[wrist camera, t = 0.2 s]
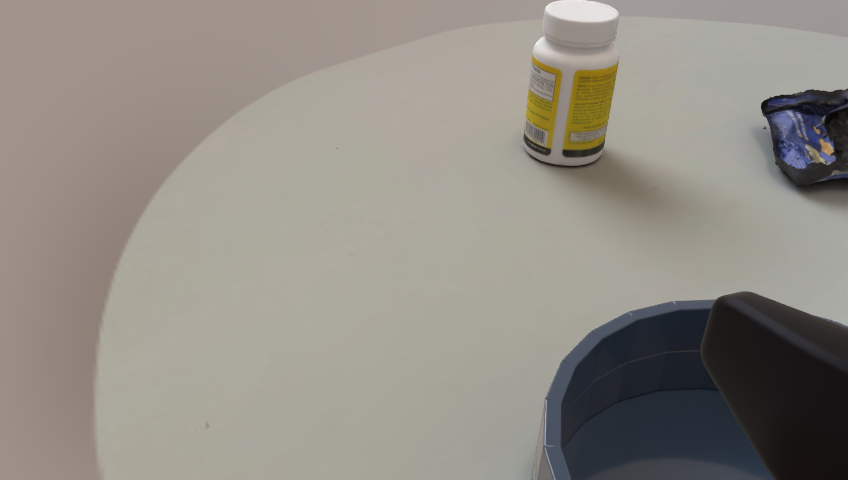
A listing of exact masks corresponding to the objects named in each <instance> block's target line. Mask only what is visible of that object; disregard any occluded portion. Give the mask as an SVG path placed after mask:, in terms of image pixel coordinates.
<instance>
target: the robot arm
mask: <svg viewBox="0 0 848 480" xmlns="http://www.w3.org/2000/svg"><path fill="white" fill-rule="evenodd" d="M701 358H702V361H703V364H704V366H705V368H706V370H707V371H708V373H709V375H710V376H711V378H712V380H713V381H714V383H715V385H716V386H717V388H718V390H719V391H720V393H721V395H722V396H723V398H724V400H725V401H726V403H727V405H728V406H729V408H730V410H731V411H732V413H733V415H734V416H735V418H736V420H737V421H738V423H739V425H740V426H741V428H742V430H743V431H744V433H745V435H746V436H747V438H748V440H749V441H750V443H751V445H752V446H753V448H754V450H755V451H756V453H757V454H758V456H759V458H760V459H761V461H762V462H763V464H764V466H765V467H766V468H767V470H768V471H769V473H770V474H771V476H772V477H773V478H774V480H848V328H845V327H842V326H840V325H837V324H834V323H832V322H829V321H826V320H824V319H821V318H819V317H816V316H813V315H811V314H808V313H805V312H803V311H800V310H797V309H795V308H792V307H789V306H787V305H784V304H781V303H779V302H776V301H773V300H771V299H768V298H765V297H763V296H760V295H758V294H755V293H752V292H738V293H734V294H729V295H725V296H721V297H719V298H717V300H716V301H715V302H714V303H713V305H712V308H711V311H710V315H709V318H708V322H707V325H706V329H705V332H704V336H703V339H702V343H701Z"/></svg>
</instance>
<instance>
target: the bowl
mask: <svg viewBox="0 0 848 480" xmlns="http://www.w3.org/2000/svg"><path fill="white" fill-rule="evenodd" d="M715 301H716V300H692V301H674V302H672V301H671V302H667V303H663V304H659V305H655V306H650V307H646V308H642V309H638V310H634V311H629V312H627V313H625V314H623V315H621V316H619V317H617V318H615V319H614V320H612V321H610V322H608V323H606V324H604V325H602V326H600V327H598V328H596V329H594V330H592V331H591V332H590V333H589V334H588V335H587V336H586V337H585V338H584V339H583V340H582V341H581V342H580V343H579V344H578V345H577V346H576V347H575V348H574V349H573V350H572V351H571V352H570V353H569V354H568V355H567V356H566V357H565V358H564V359H563V360H562V362H561V363H560V366H559V368H558V370H557V373H556V375H555V377H554V379H553V382H552V384H551V386H550V389H549V391H548V393H547V396H546V398H545V402H544V408H543V414H542V420H541V426H540V432H539V437H538V443H537V449H536V455H535V461H534V466H533V472H532V478H531V480H774V478H773V477H772V476H771V474H770V473H769V471H768V470H767V468H766V467H765V466H764V464H763V462H762V461H761V459H760V458H759V456H758V454H757V453H756V451H755V450H754V448H753V446H752V445H751V443H750V441H749V440H748V438H747V436H746V435H745V433H744V431H743V430H742V428H741V426H740V425H739V423H738V421H737V420H736V418H735V416H734V415H733V413H732V411H731V410H730V408H729V406H728V405H727V403H726V401H725V400H724V398H723V396H722V395H721V393H720V391H719V390H718V388H717V386H716V385H715V383H714V381H713V380H712V378H711V376H710V375H709V373H708V371H707V370H706V368H705V366H704V364H703V361H702V358H701V343H702V339H703V336H704V332H705V329H706V325H707V322H708V318H709V315H710V311H711V308H712V305H713V303H714V302H715ZM813 316H814V315H813ZM816 317H818V316H816ZM819 318H821V317H819ZM821 319H824V320H826V321H829V322H832V323H834V324H837V325H840V326H842V327H845V328H848V326H845V325H843V324H841V323H838V322H835V321H834V322H833V321H832V320H829V319H825V318H821Z"/></svg>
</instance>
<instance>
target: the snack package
mask: <svg viewBox="0 0 848 480" xmlns="http://www.w3.org/2000/svg"><path fill="white" fill-rule="evenodd" d="M761 109H762V114H763V116H765V117H766V118H767V120H768V123H769V126H770V129H771V134H772V141H773V146H774V147H773V151H774V155H775V158H776V162H775V164H776V165H778V167H779V168H780V169H781V170H783V171H784V172H786V173H787V175H789V176H790V178H791V179H792V181H793V182H794V183H795V184H796V185H811V184H813V183H814V182H819V181H824V180H825V181H826V180H830V179H837V178H848V89H846V90H836V91H833V92H827V91H820V90H816V91H815V90H812V89H811V90H806V91H805V92H800V93H797V94H793V95H780V96H774V97H773V98H772V97H770V98H769V99H767V100H764V101H763V102H762V104H761ZM763 129H766V127H764V128H763Z"/></svg>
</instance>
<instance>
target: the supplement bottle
mask: <svg viewBox="0 0 848 480" xmlns="http://www.w3.org/2000/svg"><path fill="white" fill-rule="evenodd" d="M618 19H619V13H618V11H617V10H616V9H614V8H612V7H610V6H608V5H605V4H602V3H598V2H593V1H586V0H562V1H556V2H553V3H550V4H549V5H547V6H546V8H545V13H544V19H543V25H542V34H543V35H544V37H542V38H541V39H539V40H538V41H537V43H536V44H535V46H534V50H533V56H532V65H531V74H530V83H529V92H528V102H527V111H526V120H525V130H524V138H523V143H524V147H525V149H526V151H527V152H528V153H529V154H530V155H532V156H533V157H535V158H536V159H538V160H541V161H543V162H546V163H551V164H556V165H565V166H579V165H585V164H588V163H591V162H593V161H595V160H596V159H598V158H599V157H600V155H601V154H602V151H603V147H604V143H605V136H606V130H607V125H608V119H609V114H610V108H611V102H612V96H613V91H614V85H615V79H616V74H617V67H618V63H619V53H618V50H617V48H616V47H615V45H614V44H612V42H613V41H614V40H615V38H616V34H617V26H618Z"/></svg>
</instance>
